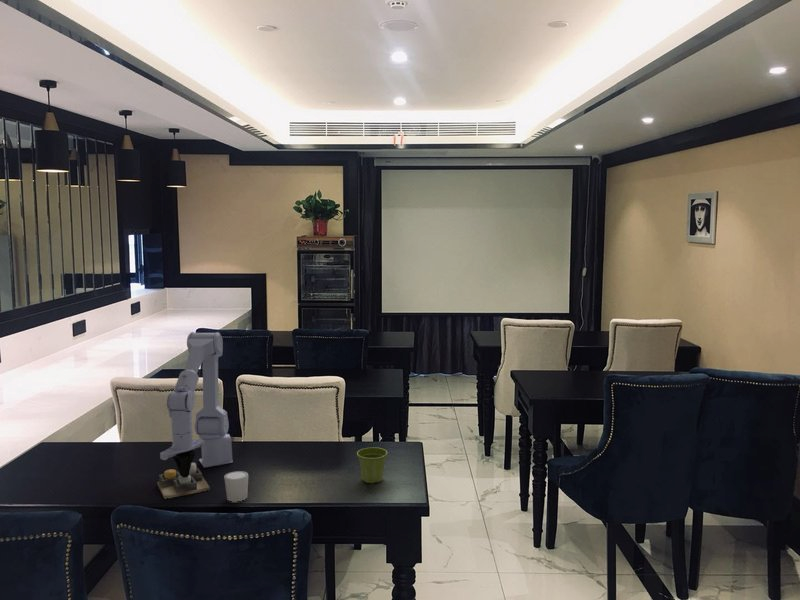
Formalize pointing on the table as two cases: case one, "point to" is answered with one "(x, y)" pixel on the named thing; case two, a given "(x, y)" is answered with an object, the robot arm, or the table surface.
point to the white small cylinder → (193, 469)
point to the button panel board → (173, 488)
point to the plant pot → (372, 463)
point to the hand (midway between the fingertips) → (184, 476)
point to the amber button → (170, 474)
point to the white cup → (236, 485)
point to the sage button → (184, 480)
